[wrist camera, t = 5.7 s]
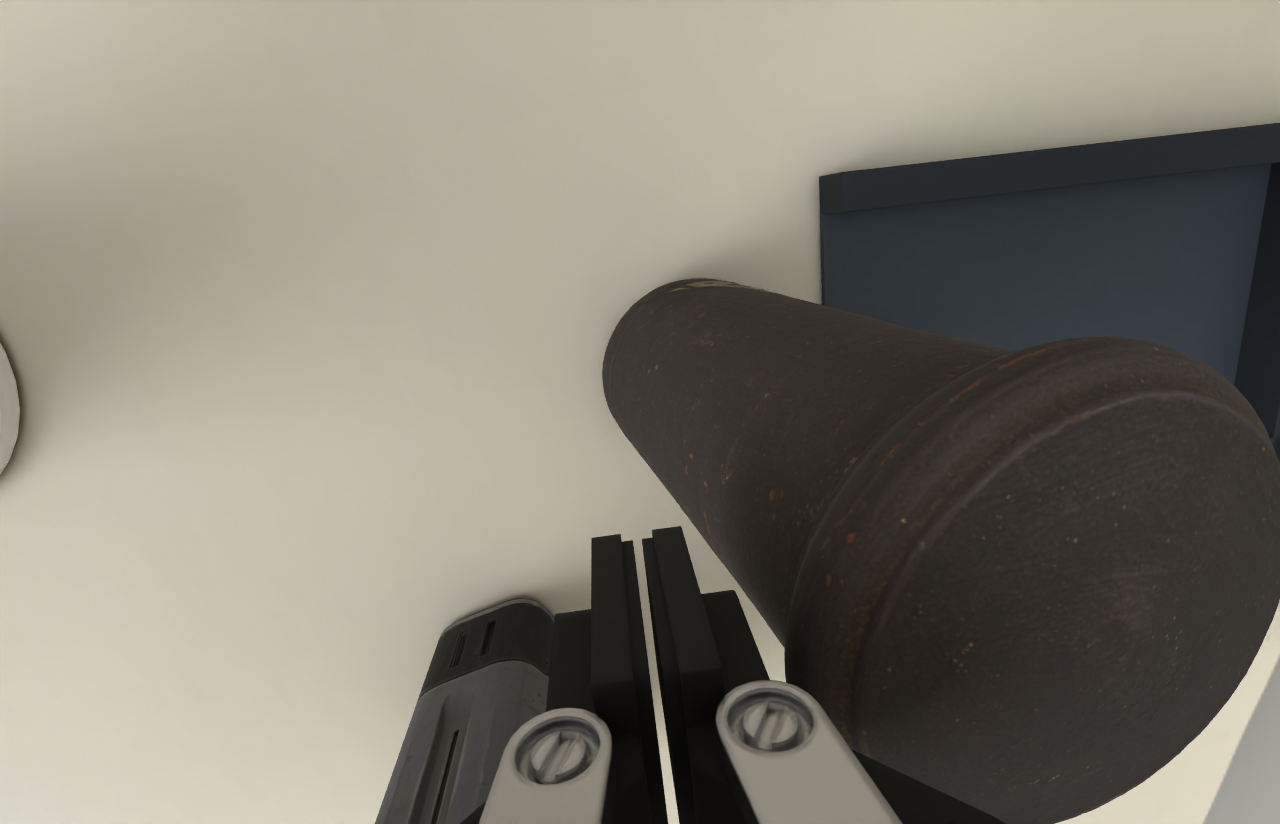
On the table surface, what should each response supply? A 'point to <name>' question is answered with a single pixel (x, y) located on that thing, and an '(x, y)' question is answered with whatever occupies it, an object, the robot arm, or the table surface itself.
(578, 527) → the table surface
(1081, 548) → the container
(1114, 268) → the tray
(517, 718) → the electronic device
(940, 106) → the table surface
